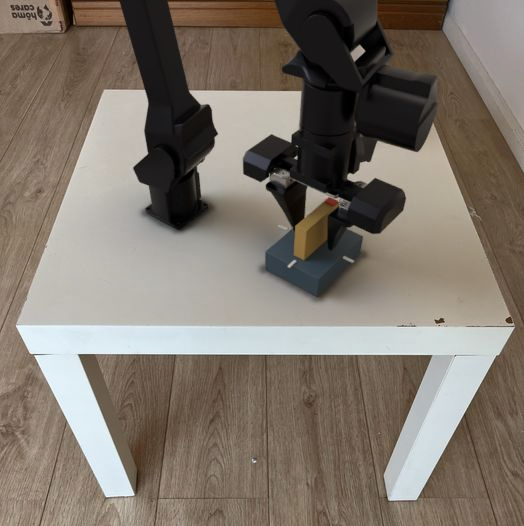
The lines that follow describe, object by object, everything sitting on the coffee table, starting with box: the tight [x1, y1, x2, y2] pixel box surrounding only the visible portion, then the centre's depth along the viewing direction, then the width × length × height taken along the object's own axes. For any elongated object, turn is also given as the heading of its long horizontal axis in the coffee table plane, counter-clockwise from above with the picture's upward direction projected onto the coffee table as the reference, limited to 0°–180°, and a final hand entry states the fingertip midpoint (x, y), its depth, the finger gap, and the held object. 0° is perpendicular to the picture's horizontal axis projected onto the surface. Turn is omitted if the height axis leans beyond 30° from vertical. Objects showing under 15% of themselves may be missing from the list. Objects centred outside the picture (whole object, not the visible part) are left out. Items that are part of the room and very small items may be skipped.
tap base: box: [264, 224, 364, 297], centre depth 74 cm, size 11×11×3 cm
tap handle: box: [294, 196, 340, 260], centre depth 71 cm, size 7×2×5 cm, turn 142°
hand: (315, 240), depth 72 cm, fingers open, 5 cm apart
